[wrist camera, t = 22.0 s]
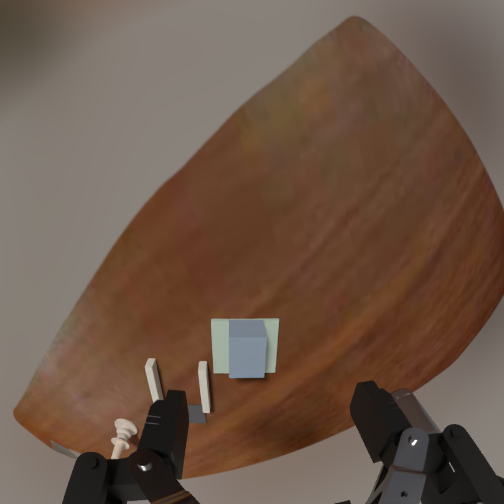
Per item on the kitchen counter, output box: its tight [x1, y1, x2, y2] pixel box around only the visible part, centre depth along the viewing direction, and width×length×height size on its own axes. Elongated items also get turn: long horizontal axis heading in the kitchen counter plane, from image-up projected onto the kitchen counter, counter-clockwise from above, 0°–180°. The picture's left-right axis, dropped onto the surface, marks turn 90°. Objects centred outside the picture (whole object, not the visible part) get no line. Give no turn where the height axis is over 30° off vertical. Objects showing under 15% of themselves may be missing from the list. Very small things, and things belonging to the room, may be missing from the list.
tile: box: [211, 318, 279, 373], centre depth 42 cm, size 10×10×1 cm
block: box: [229, 320, 267, 378], centre depth 39 cm, size 7×5×5 cm
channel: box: [145, 358, 211, 423], centre depth 43 cm, size 16×10×2 cm, turn 179°
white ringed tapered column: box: [111, 419, 138, 459], centre depth 41 cm, size 5×5×10 cm
